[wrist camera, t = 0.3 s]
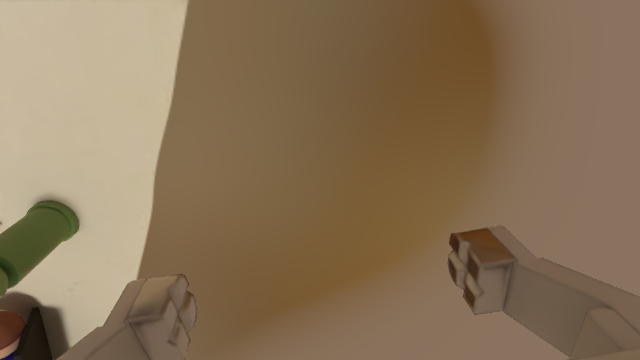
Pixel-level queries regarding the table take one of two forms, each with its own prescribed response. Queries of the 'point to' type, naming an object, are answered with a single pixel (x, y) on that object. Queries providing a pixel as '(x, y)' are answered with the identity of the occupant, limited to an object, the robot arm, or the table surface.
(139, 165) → the table surface
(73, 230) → the green toy
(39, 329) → the character figurine
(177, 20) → the table surface
